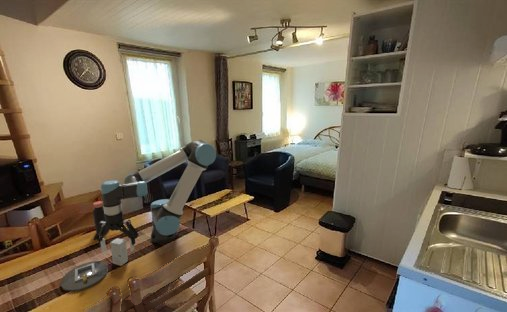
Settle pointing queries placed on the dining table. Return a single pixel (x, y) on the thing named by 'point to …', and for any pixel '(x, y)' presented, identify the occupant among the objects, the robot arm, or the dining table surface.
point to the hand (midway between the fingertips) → (118, 251)
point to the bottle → (99, 215)
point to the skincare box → (119, 251)
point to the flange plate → (91, 281)
